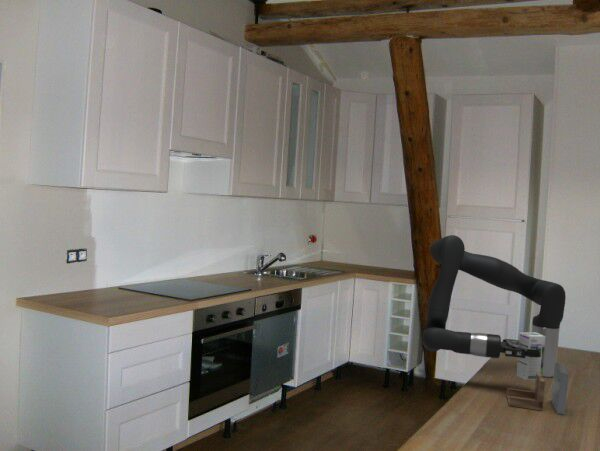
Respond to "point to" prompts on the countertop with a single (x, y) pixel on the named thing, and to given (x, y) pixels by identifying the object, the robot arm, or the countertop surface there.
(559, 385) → the plate
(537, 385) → the cradle
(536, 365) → the syrup box
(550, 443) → the countertop surface
